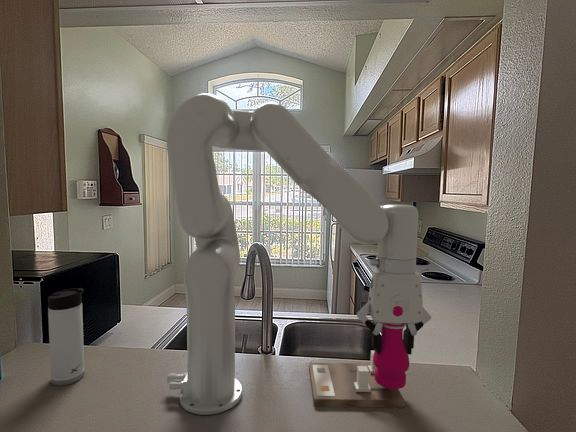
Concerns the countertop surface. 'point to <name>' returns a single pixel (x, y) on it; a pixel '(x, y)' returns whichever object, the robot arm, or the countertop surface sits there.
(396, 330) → the pepper mill
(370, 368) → the tab
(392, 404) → the switch board
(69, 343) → the travel mug
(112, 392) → the countertop surface
